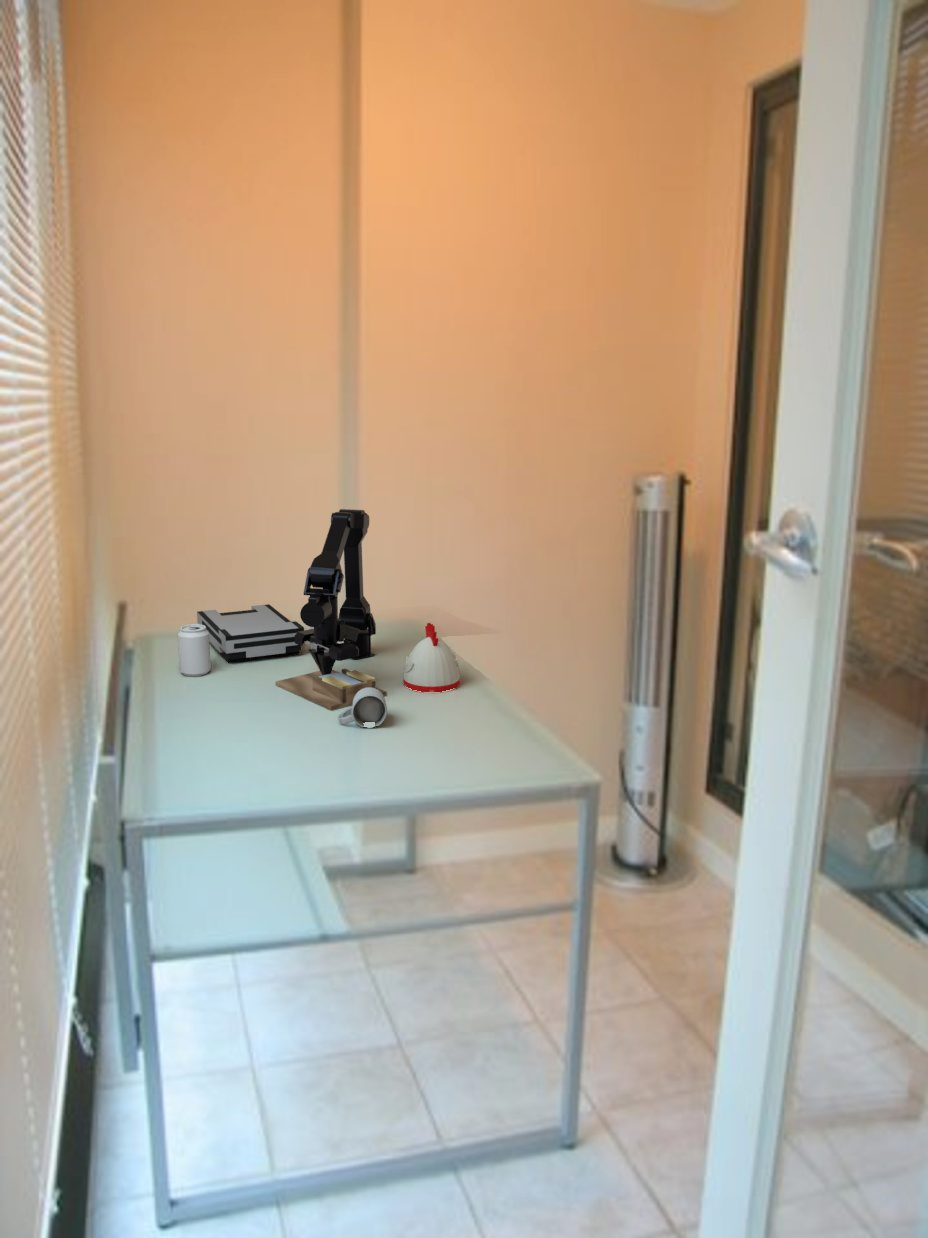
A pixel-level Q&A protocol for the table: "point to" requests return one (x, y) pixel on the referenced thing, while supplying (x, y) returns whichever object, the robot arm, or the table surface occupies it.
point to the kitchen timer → (431, 665)
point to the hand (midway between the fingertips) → (326, 678)
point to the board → (328, 688)
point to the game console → (250, 633)
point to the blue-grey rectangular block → (342, 678)
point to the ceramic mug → (366, 708)
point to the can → (194, 650)
